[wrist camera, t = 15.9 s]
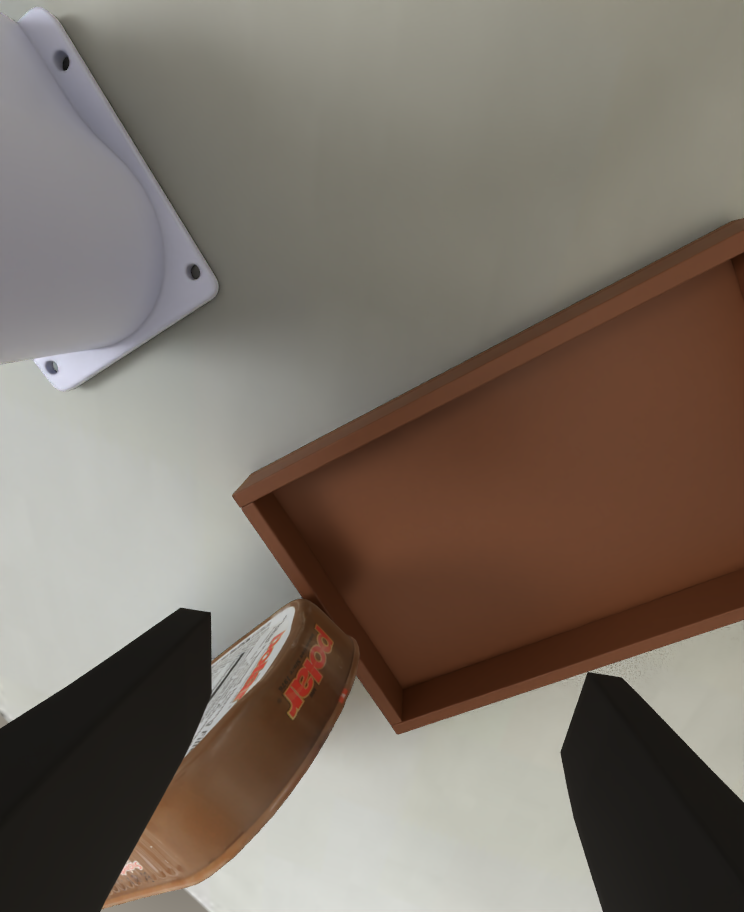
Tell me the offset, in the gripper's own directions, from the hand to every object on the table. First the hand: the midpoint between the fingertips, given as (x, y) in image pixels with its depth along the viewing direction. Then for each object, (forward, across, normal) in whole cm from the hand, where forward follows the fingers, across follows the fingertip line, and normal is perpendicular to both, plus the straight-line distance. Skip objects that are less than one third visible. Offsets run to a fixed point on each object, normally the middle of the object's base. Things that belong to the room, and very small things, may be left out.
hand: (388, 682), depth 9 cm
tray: (+10, -5, 0) cm, 12 cm away
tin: (+9, +6, +9) cm, 14 cm away
